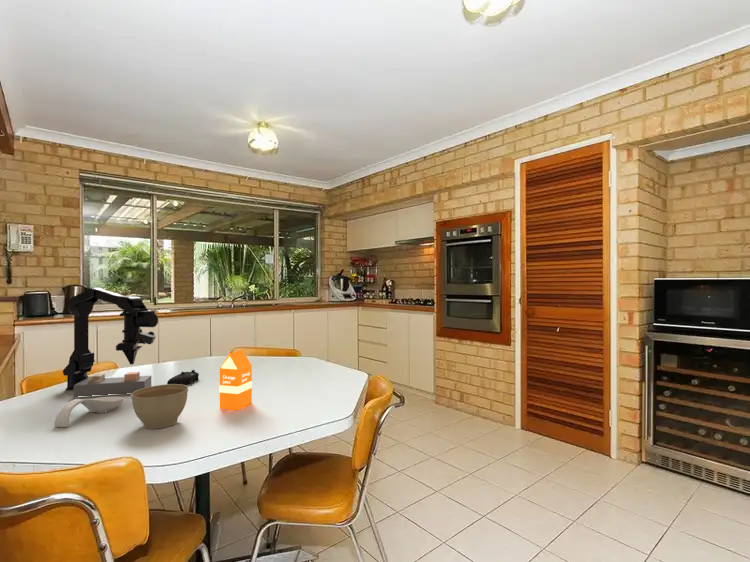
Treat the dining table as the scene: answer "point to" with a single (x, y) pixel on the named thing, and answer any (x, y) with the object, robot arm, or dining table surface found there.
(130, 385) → the key housing
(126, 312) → the robot arm
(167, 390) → the planter bowl
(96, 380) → the ash key
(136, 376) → the terracotta key
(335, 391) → the dining table surface
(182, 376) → the gaming controller
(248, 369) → the orange juice
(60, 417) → the spoon rest
